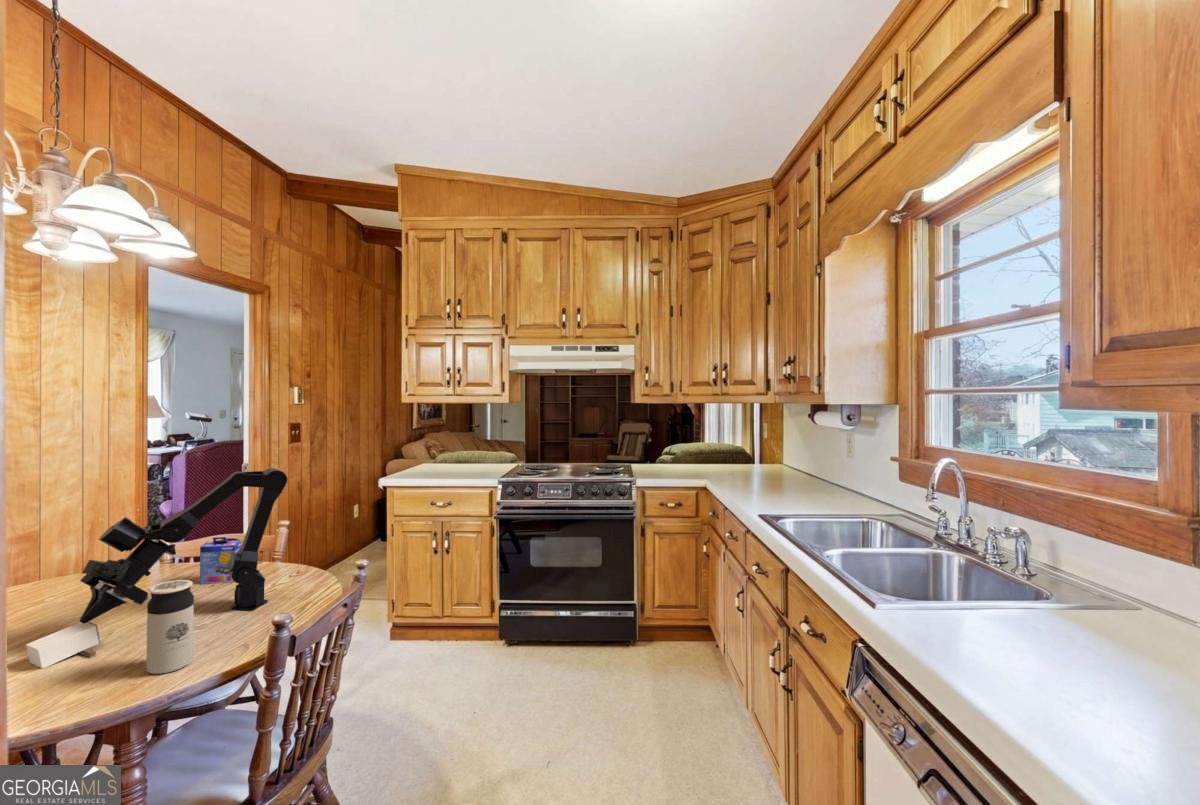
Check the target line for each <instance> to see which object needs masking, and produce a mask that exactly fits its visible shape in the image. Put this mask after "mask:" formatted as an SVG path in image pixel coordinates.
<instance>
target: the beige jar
mask: <svg viewBox="0 0 1200 805" xmlns="http://www.w3.org/2000/svg"><path fill="white" fill-rule="evenodd" d="M193 583H194V582H193V581H191V580H189V579H176V580H169V581H168V580H167V581H164V582H161V583H157V584H155V585H152V586H151V587H150V588H149V589H148V593H150V595H151V596H150V597H151V598H150V599H149V601H148V602H147V607H146V608H147V609H146V610H147V611H146V613H147V614H146V669H145V670H146V672H147V673H149V674H155V675H156V674H157V675H159V674H161V675H162V673H163V674H166V673H168V674H169V673H171V672H175V671H178V670H180V669H183V668H185V667H186V666H188V665H189V664H190V663H191V662H192V661H193V659H194V614H195V613H194V609H195V608H194V606H195V605H194V603H195V602H194V601H195V599H194V598H195V596H194V594H193V593H192V591H191V587H192V585H193ZM182 667H183V668H182Z"/></svg>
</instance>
